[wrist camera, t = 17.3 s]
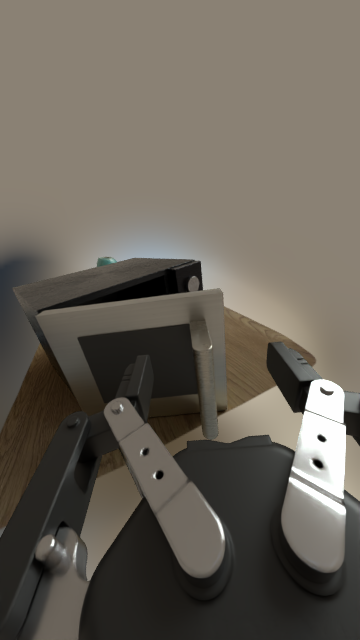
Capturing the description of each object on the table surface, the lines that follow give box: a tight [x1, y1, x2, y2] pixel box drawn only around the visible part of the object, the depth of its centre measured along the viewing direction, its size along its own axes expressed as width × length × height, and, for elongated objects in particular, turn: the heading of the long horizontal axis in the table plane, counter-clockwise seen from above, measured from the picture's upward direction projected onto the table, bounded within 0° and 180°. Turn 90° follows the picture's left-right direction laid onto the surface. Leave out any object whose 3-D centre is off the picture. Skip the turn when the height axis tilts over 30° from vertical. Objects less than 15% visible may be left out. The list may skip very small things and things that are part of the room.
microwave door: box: [35, 288, 227, 440], centre depth 23 cm, size 8×21×18 cm, turn 91°
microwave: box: [13, 258, 203, 398], centre depth 42 cm, size 24×28×18 cm
